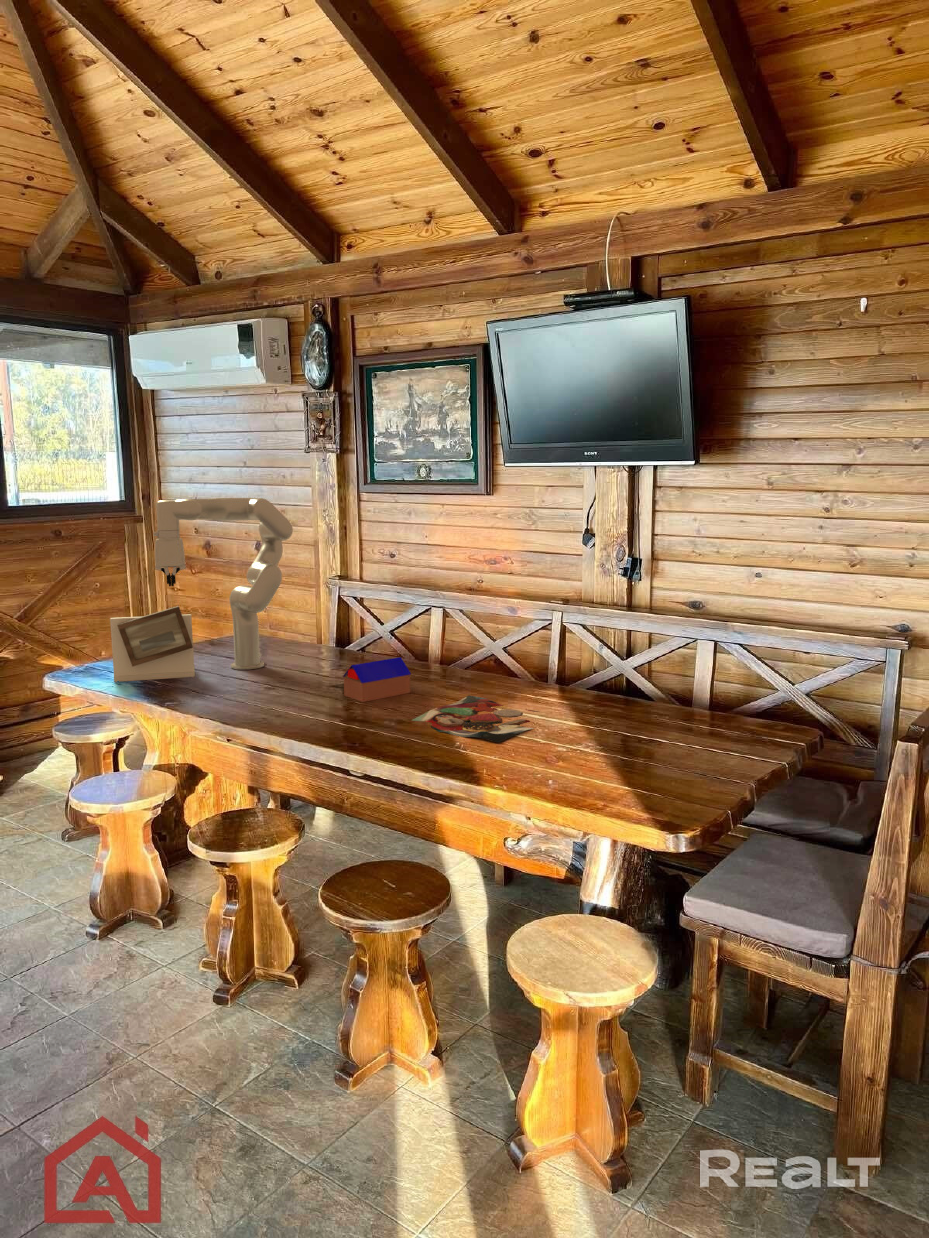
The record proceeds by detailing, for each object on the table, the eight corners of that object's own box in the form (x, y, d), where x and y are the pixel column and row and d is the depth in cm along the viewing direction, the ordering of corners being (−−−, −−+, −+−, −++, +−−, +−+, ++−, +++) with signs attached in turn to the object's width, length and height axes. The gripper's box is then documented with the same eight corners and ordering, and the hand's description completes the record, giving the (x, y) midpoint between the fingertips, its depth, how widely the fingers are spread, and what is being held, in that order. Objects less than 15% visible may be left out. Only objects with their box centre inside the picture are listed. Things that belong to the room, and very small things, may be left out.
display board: (116, 677, 338) (111, 615, 335) (194, 672, 346) (191, 612, 342) (114, 681, 331) (109, 619, 327) (194, 676, 338) (191, 615, 334)
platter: (400, 726, 274) (400, 719, 274) (469, 701, 303) (469, 695, 303) (498, 745, 254) (498, 739, 253) (562, 717, 282) (562, 711, 282)
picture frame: (132, 665, 332) (117, 624, 328) (192, 646, 337) (178, 605, 333) (132, 666, 330) (117, 625, 326) (192, 647, 334) (178, 606, 331)
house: (411, 693, 313) (411, 659, 311) (362, 702, 300) (361, 668, 298) (391, 686, 322) (390, 654, 320) (342, 696, 309) (342, 662, 307)
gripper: (146, 536, 322) (149, 587, 324) (190, 535, 326) (192, 586, 328) (147, 534, 329) (150, 585, 332) (190, 534, 333) (193, 584, 336)
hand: (171, 585), depth 330 cm, fingers closed
